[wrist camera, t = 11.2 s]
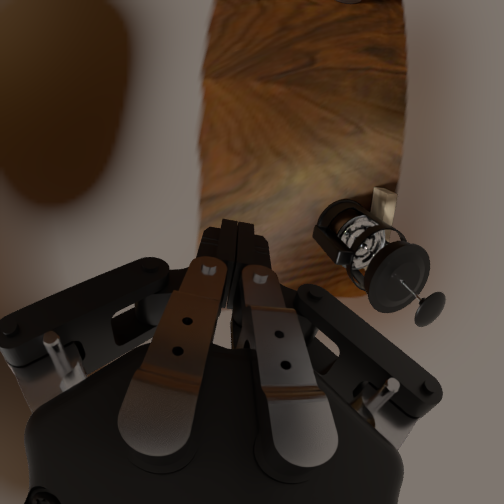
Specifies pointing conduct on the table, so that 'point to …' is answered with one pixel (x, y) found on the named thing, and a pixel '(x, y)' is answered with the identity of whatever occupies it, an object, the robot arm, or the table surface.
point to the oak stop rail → (384, 207)
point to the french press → (379, 261)
